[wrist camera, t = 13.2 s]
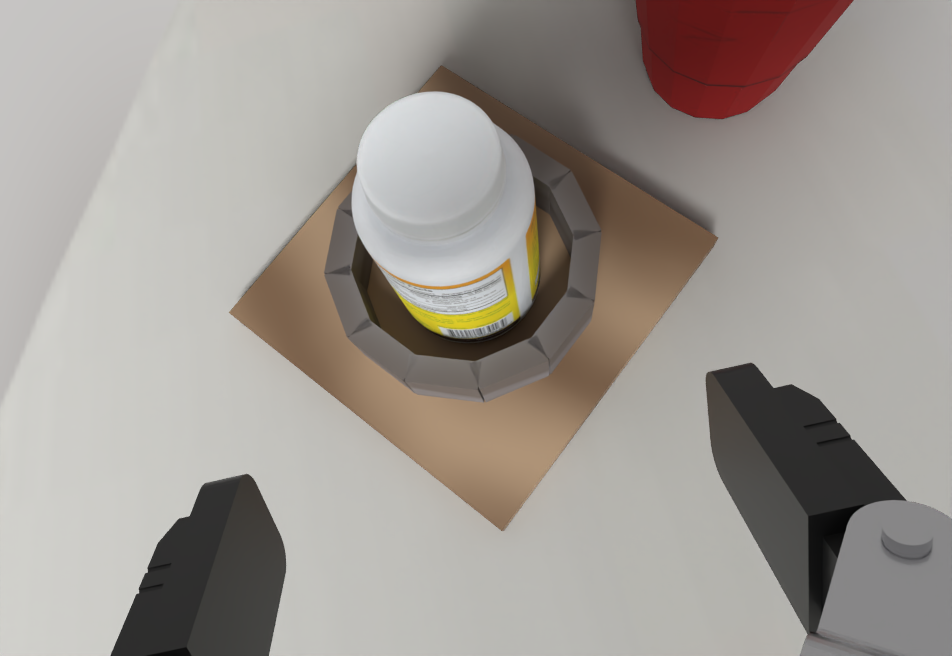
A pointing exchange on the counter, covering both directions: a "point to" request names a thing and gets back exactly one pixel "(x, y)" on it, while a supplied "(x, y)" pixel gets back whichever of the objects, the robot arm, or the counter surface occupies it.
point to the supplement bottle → (449, 215)
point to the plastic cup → (728, 48)
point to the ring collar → (497, 360)
